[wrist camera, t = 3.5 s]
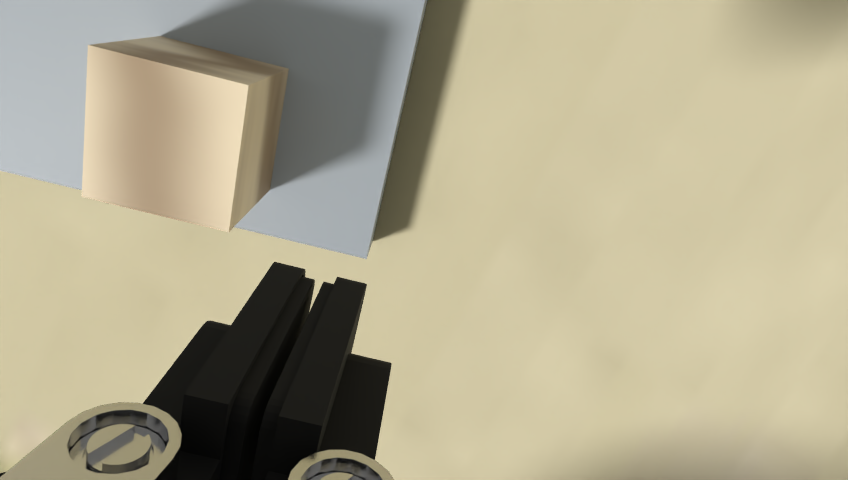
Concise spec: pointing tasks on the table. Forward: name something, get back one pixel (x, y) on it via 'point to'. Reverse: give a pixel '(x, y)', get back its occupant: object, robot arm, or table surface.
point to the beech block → (180, 129)
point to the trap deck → (247, 37)
